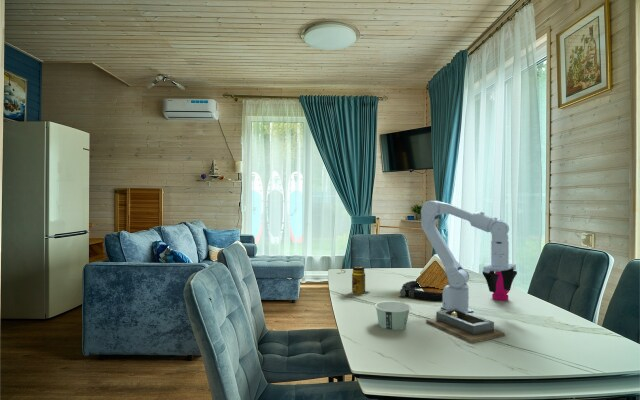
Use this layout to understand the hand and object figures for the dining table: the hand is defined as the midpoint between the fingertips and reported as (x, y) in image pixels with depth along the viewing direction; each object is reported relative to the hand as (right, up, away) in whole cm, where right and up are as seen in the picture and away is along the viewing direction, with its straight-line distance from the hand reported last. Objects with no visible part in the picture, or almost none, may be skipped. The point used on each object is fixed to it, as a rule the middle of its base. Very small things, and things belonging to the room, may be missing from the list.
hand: (499, 290), depth 134 cm
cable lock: (-15, -10, +34) cm, 38 cm away
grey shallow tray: (-18, -8, -13) cm, 24 cm away
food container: (-41, -10, -9) cm, 43 cm away
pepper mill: (+12, -10, +24) cm, 29 cm away
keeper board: (-18, -9, -13) cm, 24 cm away
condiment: (-48, -10, +34) cm, 59 cm away
